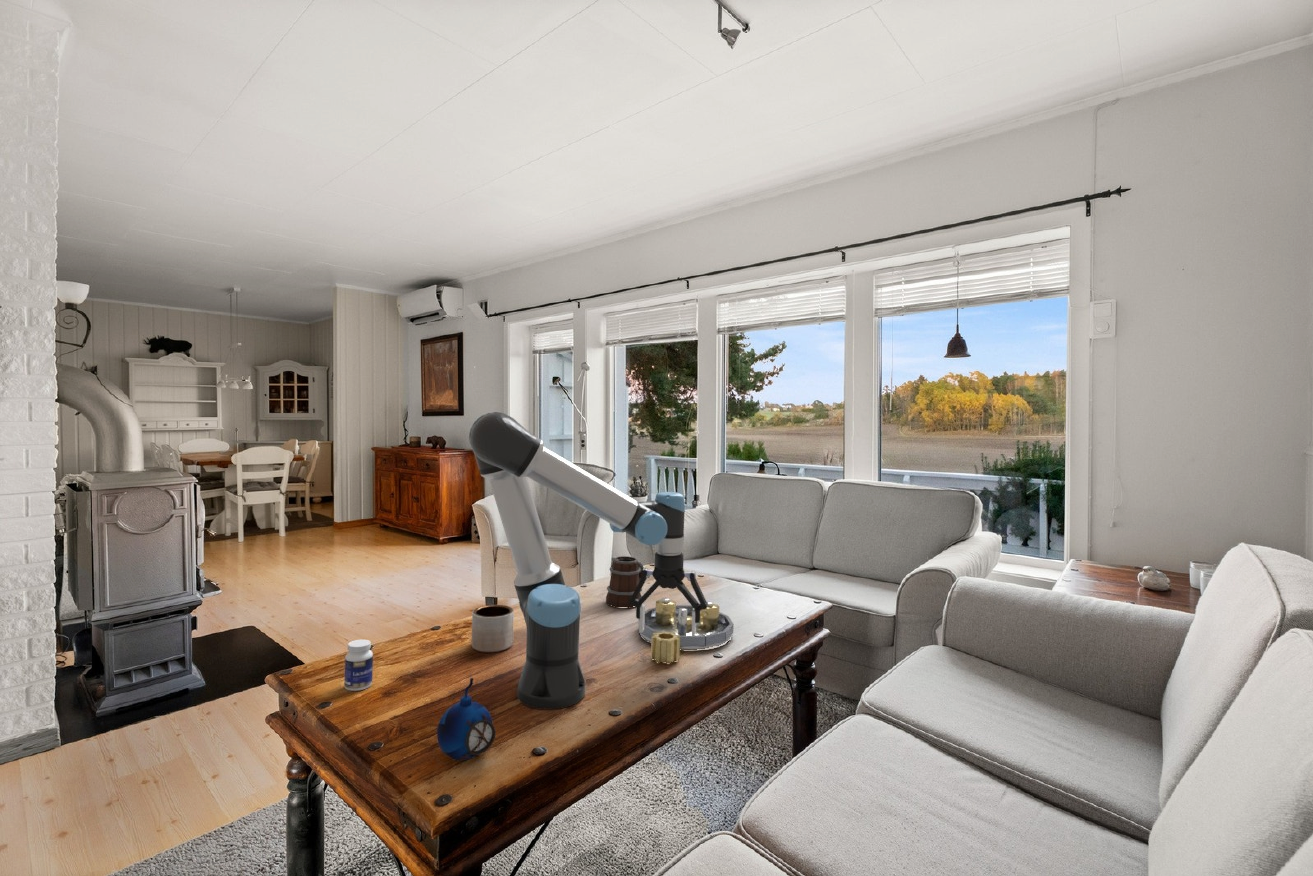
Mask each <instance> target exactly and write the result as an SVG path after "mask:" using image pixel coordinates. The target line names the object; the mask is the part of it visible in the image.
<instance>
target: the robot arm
mask: <svg viewBox="0 0 1313 876" xmlns="http://www.w3.org/2000/svg"><path fill="white" fill-rule="evenodd" d="M468 438H469V440H468V441H469V444H470V447H471V449H472V452H473V454H474V457H475V461H476V464H477V468H478V471H479V474H480V476H481V477H483V478H484V479H486V480H488V481H489V485H490V487H491V491H492V494H493V497H494V500H495V504H496V507H497V510H498V513H499V517H500V520H501V524H502V526H503V530H504V533H505V537H506V540H507V543H508V546H509V550H510V553H511V556H512V560H513V563H514V566H515V569H516V573H517V574H516V576H515V578H514V580H513V585H514V588H515V592H516V595H517V598H518V603H519V607H520V610H521V612H522V615H523V618H524V621H525V624H526V625H525V626H526V646H525V647H526V649H525V651H526V653H525V655H526V656H525V663H524V665H523V669H522V671H521V674H520V677H519V680H518V683H517V687H516V688H517V689H516V690H517V691H516V697H517V700H518V701H519V702H520V703H521V704H523V706H524V705H525V706H527V707H530V708H533V709H538V710H539V709H540V710H557V709H558V710H559V709H564V708H567V707H571V706H573V705H575V704H577V703H579V702H580V701H582V700H583V698H584V697H585V696H586V681H585V678H584V674H583V670H582V667H581V663H580V661H579V654H580V653H579V649H580V648H579V647H580V645H579V644H580V620H581V619H580V617H581V612H582V611H581V609H582V604H581V597H580V594H579V592H578V591H577V590H576V589H574V588H573V587H571V586H567V585H566V582H565V579H564V577H563V573H562V569H561V566H560V565H558V564H556V563H555V562H553V561H552V557H551V555H550V551H549V548H548V544H547V540H546V537H545V534H544V531H543V527H542V524H541V520H540V517H539V514H538V510H537V507H536V503H535V501H534V496H533V493H532V490H531V486H530V484H529V483H530V482H529V480H528V478H529V479H531V480H532V481H534V482H536V483H537V484H540V485H541V486H543V487H545V488H547V489H548V490H550V491H552V492H554V493H556V495H557V494H558V495H560V496H561V497H562V498H564V499H566V500H567V501H570V502H572V503H573V504H575V505H577V506H579V507H580V508H582V509H584V510H586V511H587V512H589V513H591V514H593V515H594V516H596V517H599V518H600V519H601V520H603V521H605V522H607V523H609V527H610V530H611V531H612V532H613V533H622V534H623V533H626V534H628V535H629V536H631V537H633V538H634V539H636V540H637V541H638V542H640V543H642V544H643V545H645V546H646V545H647V546H654V551H655V553H654V568H653V570H652V569H649V568H648V567H644V569H643V571H642V577H641V580H640V582H639V584H638V586H637V588H636V589H635V591H634V593H633V595H632V597H631V599H630V601H629V603H630V604H633V605H635V606H636V607H635V618H636V619H637V620H638V619H640V632H642V633H643V631H644V626H645V611H646V609H645V608H646V605H645V604H644V603H645V602H646V600H647V599H648V598H649V597H650V596H651V595H652V594H653V593H654V592H655V590H657V589H658V587H661V589H671V590H674V589H677V590H678V591H679V592H680V593H681V594H682V595H683V597H684V598H685V599H686V601H688V603H689V605H691V606H692V607H693V610H692V636H693V637H695V633H696V623H699V621H700V611H701V610H702V609H706V608H707V602H708V601H707V600H706V598H705V596H704V593H703V591H702V589H701V587H700V585H699V583H698V581H697V576H696V575H697V574H696V571H695V570H691V571H688V572H685V569H684V560H685V559H684V556H685V555H684V553H683V552H684V550H685V549H684V548H685V544H684V543H685V542H684V541H685V534H684V533H685V532H684V531H685V513H686V510H685V507H686V506H685V497H684V495H683V494H682V493H680V492H676V491H675V492H673V491H663V492H657V493H656V494H655V499H654V500H650V501H637V500H635V499H634V498H632V497H630V496H629V495H627V494H625V493H623V492H622V491H620V490H619V489H617V488H615V487H614V486H611V485H610V484H608V483H607V482H605V481H603V480H602V479H600V478H598V477H596V476H595V475H593V474H591V473H590V472H588V471H586V470H585V469H583V468H581V467H579V466H578V465H576V464H574V463H573V462H572V461H569V460H568V459H566V458H564V457H562V456H561V455H559V454H558V453H556V452H554V451H552V450H550V449H549V448H547V447H545V446H544V442H543V439H541V438H540V437H538V436H536V435H534V434H533V433H532V432H530V431H529V430H528V429H526V428H525V427H524V426H522V424H521V423H520V422H518V421H517V420H516V419H515V418H514V417H512V416H511V415H508V414H506V413H504V412H498V411H493V412H488V413H485V414H483V415H481V416H479V417H478V418H477V419H476V420H475V421H474V422H473V423H472V426H471V427H470V429H469V436H468ZM651 576H652V577H653V578H654V580H655V582H653V584H652V585H651V586H650V587H649V588H648V589H647V590H646V591H645V593H644V594H643V595H641V596H642V597H641V598H640V599H639V600H638V599H636V598H637V596H638V594H639V592H640V591H641V589H642V590H643V587H644V585H645V583H646V581H647V579H650V577H651ZM685 578H686V580H687V581H689V582H690V585H691V587H692V589H693V592H694V594H695V595H696V598H697V599H698V600H697V599H696V598H695V596H694V595H693V594H692V593H691V591H690V590H689V589H688V588H687V586H686V585H685V583H684V582H683V580H684V579H685ZM641 592H642V591H641ZM641 592H640V593H641ZM698 601H699V602H698Z"/></svg>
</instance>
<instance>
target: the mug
mask: <svg viewBox="0 0 1313 876" xmlns="http://www.w3.org/2000/svg"><path fill="white" fill-rule="evenodd" d="M644 569H645V567H644V565H643V563H642V562H641V561H639V560H638V559H637V558H636V557H634V556H633V557H632V556H625V555H623V556H616V557H614V558H613V560H612V565H611V566H610V567H609V571H610V572H611V574H610V578H609V579H610V580H609V584H608V586H607V587H606V590H607V594H606V596H605V602H607V603H606V604H607V605H608V604H609V605H612V606H611V607H613V606H615V607H614V608H616V607H628V608H627V609H630V608H629V607H633V606H635V605H633V604H630V603H629V601H630V599H631V597H632V595H633V593H634V591H635V589H636V588H637V586H638V584H639V582H640V580H641V577H642V571H643V570H644ZM642 591H643V588H642V589H641V591H640V592H639V594H638V596H637V598H636V599H638V600H639V599H640V598H641V597H642V596H643V595H642V594H641V593H642ZM609 605H608V606H609ZM633 608H634V607H633Z"/></svg>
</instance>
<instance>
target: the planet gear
mask: <svg viewBox="0 0 1313 876" xmlns="http://www.w3.org/2000/svg"><path fill="white" fill-rule="evenodd" d="M650 645H651V647H650V648H651V649H650V659H656V661H655V663H656V662H658V663H660V662H666V664H667V663H671V662H672V661H677V660H678V661H679V660H680V652H681V651H680V635H676V634H675V632H665V631H661V632H660V633H653V636H652V640H651V644H650ZM658 663H657V664H658ZM660 664H661V663H660ZM671 664H672V663H671Z"/></svg>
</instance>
